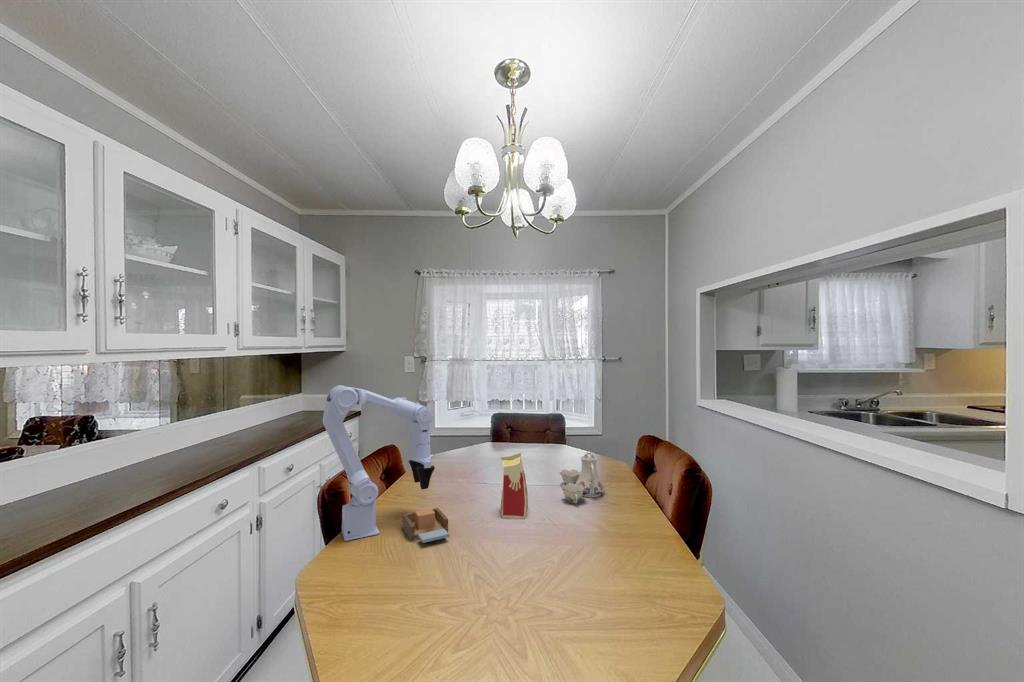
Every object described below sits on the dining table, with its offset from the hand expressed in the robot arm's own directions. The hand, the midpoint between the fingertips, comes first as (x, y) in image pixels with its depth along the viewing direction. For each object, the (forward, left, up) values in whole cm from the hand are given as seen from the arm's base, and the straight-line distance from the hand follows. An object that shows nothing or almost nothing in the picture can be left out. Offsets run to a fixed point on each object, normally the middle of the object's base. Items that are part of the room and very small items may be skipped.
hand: (421, 485), depth 131 cm
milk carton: (+28, -11, -11) cm, 32 cm away
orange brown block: (-2, -10, -9) cm, 13 cm away
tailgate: (-2, -15, -9) cm, 18 cm away
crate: (-2, -10, -10) cm, 15 cm away
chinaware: (+59, -7, -11) cm, 61 cm away
